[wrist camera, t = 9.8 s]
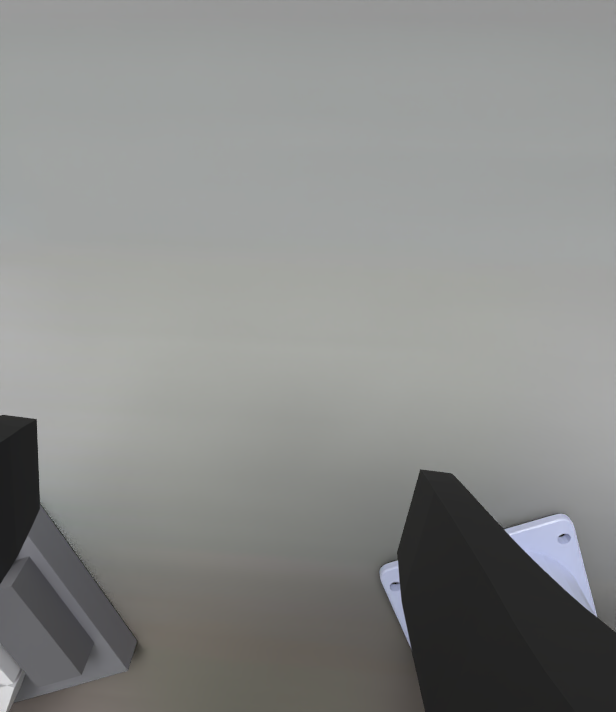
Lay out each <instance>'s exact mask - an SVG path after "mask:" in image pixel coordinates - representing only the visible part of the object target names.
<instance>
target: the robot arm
mask: <svg viewBox="0 0 616 712" xmlns="http://www.w3.org/2000/svg"><path fill="white" fill-rule="evenodd" d="M39 510H40V495H39V470H38V444H37V419H30V418H23V417H15V416H7V415H1V416H0V584H1V582H2V581H3V579H4V577H5V576H6V574H7V573H8V571H9V570H10V568H11V566H12V565H13V563H14V562H15V560H16V558H17V557H18V555H19V553H20V550H21V548H22V546H23V544H24V542H25V540H26V538H27V536H28V534H29V532H30V530H31V528H32V525H33V523H34V521H35V519H36V517H37V514H38V512H39ZM562 534H565V535H564V536H562V537H559V536H560V535H562ZM397 554H398V560H397V561H394V562H390V563H387V564H385V565H383V566H382V567H381V568H380V571H379V573H380V580H381V583H382V585H383V587H384V589H385V591H386V594H387V596H388V598H389V600H390V603H391V605H392V607H393V609H394V612H395V614H396V616H397V618H398V621H399V623H400V625H401V627H402V630H403V632H404V634H405V636H406V638H407V641H408V643H409V645H410V647H411V650H412V653H413V658H414V663H415V667H416V672H417V676H418V681H419V685H420V690H421V694H422V699H423V703H424V708H425V712H616V633H615V632H614V631H613V630H612V629H611V628H609V627H608V626H607V625H606V624H604V623H603V622H602V621H601V620H600V619H598V618H597V614H596V610H595V606H594V602H593V598H592V594H591V590H590V587H589V583H588V579H587V575H586V571H585V567H584V563H583V559H582V555H581V551H580V548H579V544H578V540H577V536H576V532H575V528H574V525H573V523H572V521H571V520H570V518H569V517H568V516H567V515H565V514H555V515H552V516H548V517H545V518H541V519H538V520H535V521H531V522H528V523H524V524H521V525H517V526H514V527H511V528H507V529H503V528H502V527H501V526H500V525H499V524H498V523H497V522H496V521H495V519H494V518H493V517H492V516H491V515H490V514H489V513H488V512H487V511H486V510H485V509H484V507H483V506H482V505H481V504H480V503H479V502H478V501H477V500H476V499H475V498H474V496H473V495H472V494H471V493H470V492H469V491H468V490H467V489H466V488H465V487H464V486H463V485H462V484H461V482H460V481H459V480H458V479H457V478H456V477H455V476H454V475H453V474H451V473H444V472H436V471H428V470H421V469H420V473H419V476H418V480H417V483H416V487H415V491H414V494H413V498H412V501H411V505H410V509H409V512H408V516H407V519H406V523H405V526H404V530H403V534H402V537H401V541H400V544H399V548H398V552H397ZM393 582H399V583H398V584H392V583H393Z"/></svg>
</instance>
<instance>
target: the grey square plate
mask: <svg viewBox="0 0 616 712" xmlns="http://www.w3.org/2000/svg"><path fill="white" fill-rule="evenodd" d="M136 643H137V640H136V639H135V637H134V636H133V634H132V633H131V632H130V630H129V629H128V627H127V626H126V624H125V623H124V622H123V620H122V619H121V617H120V616H119V615H118V613H117V612H116V610H115V609H114V608H113V606H112V605H111V603H110V602H109V600H108V599H107V598H106V596H105V595H104V593H103V592H102V591H101V589H100V588H99V586H98V585H97V584H96V582H95V581H94V579H93V578H92V577H91V575H90V574H89V572H88V571H87V569H86V568H85V567H84V565H83V564H82V562H81V561H80V560H79V558H78V557H77V555H76V554H75V553H74V551H73V550H72V548H71V547H70V545H69V544H68V543H67V541H66V540H65V538H64V537H63V536H62V534H61V533H60V531H59V530H58V529H57V527H56V526H55V524H54V523H53V522H52V520H51V519H50V517H49V516H48V514H47V513H46V512H45V510H44V509H43V507H42V506H41V505H40V510H39V512H38V514H37V517H36V519H35V521H34V523H33V525H32V528H31V530H30V532H29V534H28V536H27V538H26V540H25V542H24V544H23V546H22V548H21V550H20V553H19V555H18V557H17V558H16V560H15V562H14V563H13V565H12V566H11V568H10V570H9V571H8V573H7V574H6V576H5V577H4V579H3V581H2V582H1V584H0V712H9V710H10V708H11V706H12V704H13V703H15V702H19V701H23V700H26V699H30V698H33V697H37V696H40V695H44V694H47V693H51V692H54V691H58V690H61V689H65V688H69V687H72V686H76V685H79V684H83V683H86V682H90V681H93V680H97V679H100V678H104V677H108V676H111V675H115V674H118V673H122V672H125V671H128V669H129V666H130V663H131V659H132V656H133V653H134V650H135V646H136Z"/></svg>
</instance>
